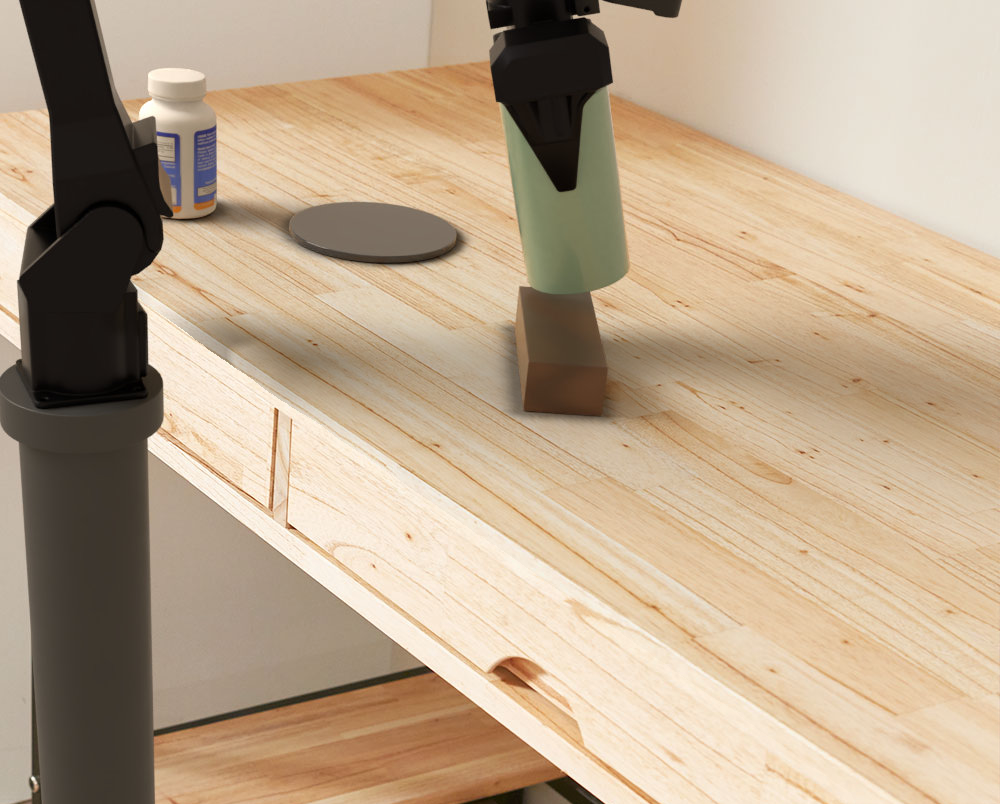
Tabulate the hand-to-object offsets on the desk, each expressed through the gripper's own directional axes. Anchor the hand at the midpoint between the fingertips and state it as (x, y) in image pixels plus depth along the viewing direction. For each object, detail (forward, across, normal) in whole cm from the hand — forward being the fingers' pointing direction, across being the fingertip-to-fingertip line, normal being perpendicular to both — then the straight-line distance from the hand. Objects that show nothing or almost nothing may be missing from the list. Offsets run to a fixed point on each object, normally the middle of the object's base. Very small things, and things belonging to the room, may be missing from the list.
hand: (563, 171), depth 91 cm
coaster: (+8, +17, +14) cm, 24 cm away
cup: (+5, 0, +4) cm, 7 cm away
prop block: (+10, -6, +2) cm, 12 cm away
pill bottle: (+5, +19, +28) cm, 34 cm away
